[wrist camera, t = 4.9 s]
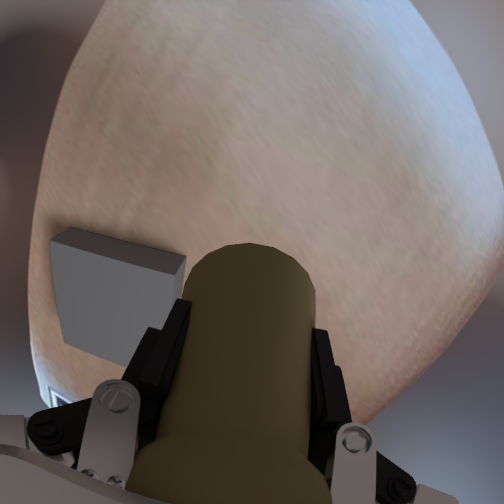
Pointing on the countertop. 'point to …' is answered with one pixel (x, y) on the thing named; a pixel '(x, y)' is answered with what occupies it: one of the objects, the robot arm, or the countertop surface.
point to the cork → (238, 388)
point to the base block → (111, 291)
